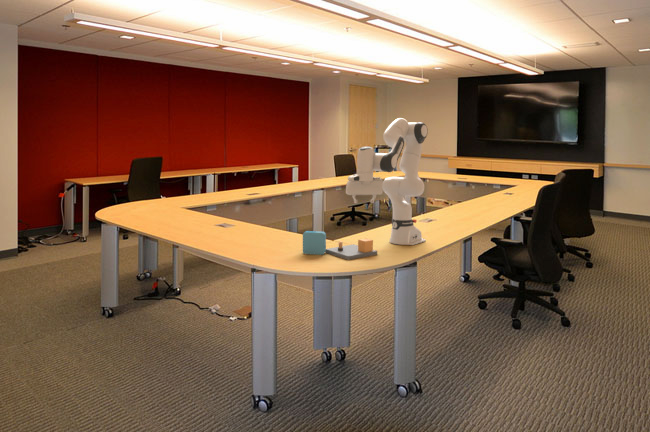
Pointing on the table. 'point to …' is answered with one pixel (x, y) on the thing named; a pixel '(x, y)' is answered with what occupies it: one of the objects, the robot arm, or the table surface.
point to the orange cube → (365, 245)
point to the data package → (314, 242)
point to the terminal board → (349, 252)
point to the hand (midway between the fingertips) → (364, 203)
